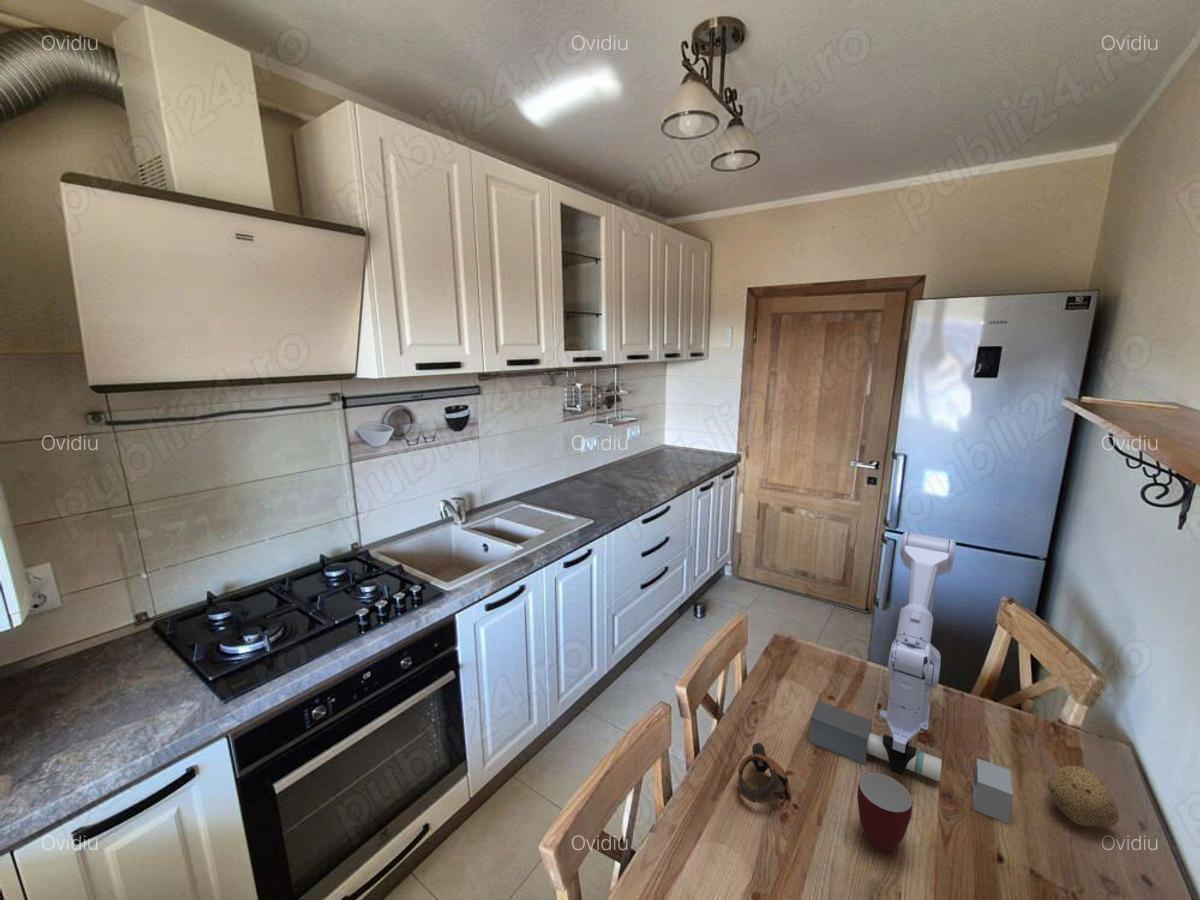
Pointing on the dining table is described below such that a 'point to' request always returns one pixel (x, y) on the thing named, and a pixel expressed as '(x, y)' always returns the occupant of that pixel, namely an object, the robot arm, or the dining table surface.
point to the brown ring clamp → (761, 766)
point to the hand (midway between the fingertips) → (898, 759)
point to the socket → (992, 790)
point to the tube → (918, 764)
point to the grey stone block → (840, 732)
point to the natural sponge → (1083, 797)
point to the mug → (883, 810)
